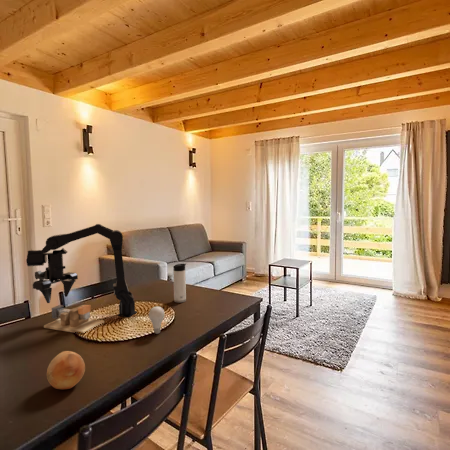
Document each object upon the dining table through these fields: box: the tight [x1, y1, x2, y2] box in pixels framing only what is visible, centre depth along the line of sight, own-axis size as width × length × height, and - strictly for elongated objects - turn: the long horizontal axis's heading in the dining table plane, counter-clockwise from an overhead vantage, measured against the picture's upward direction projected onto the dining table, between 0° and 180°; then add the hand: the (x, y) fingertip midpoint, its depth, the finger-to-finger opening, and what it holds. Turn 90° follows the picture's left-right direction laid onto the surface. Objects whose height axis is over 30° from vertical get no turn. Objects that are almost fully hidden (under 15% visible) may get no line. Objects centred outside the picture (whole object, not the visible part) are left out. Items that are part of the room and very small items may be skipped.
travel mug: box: [172, 263, 187, 304], centre depth 163 cm, size 6×7×20 cm
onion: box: [46, 350, 86, 390], centre depth 88 cm, size 10×10×10 cm
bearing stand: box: [43, 304, 105, 334], centre depth 133 cm, size 21×12×8 cm, turn 71°
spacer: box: [78, 304, 92, 315], centre depth 130 cm, size 2×4×2 cm, turn 161°
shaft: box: [51, 304, 91, 320], centre depth 133 cm, size 18×4×4 cm, turn 71°
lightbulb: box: [148, 305, 165, 335], centre depth 123 cm, size 6×6×11 cm
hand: (57, 299), depth 135 cm, fingers open, 9 cm apart
